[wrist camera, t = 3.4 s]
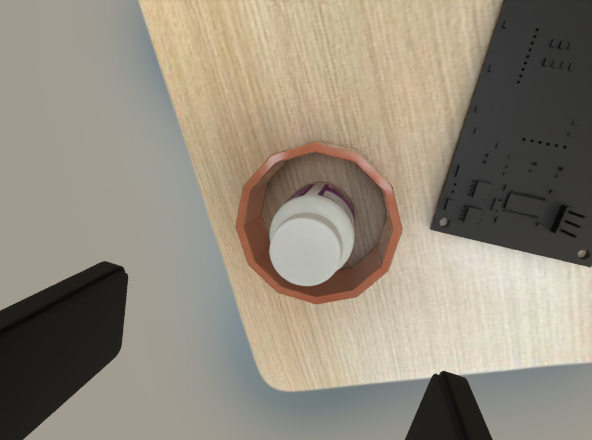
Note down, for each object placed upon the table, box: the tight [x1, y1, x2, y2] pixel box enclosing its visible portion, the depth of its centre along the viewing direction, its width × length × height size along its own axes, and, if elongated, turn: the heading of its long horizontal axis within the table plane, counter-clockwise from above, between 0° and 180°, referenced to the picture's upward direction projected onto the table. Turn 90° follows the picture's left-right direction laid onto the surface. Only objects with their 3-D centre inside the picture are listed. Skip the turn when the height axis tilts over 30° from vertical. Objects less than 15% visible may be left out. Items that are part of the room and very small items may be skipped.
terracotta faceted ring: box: [236, 141, 402, 304], centre depth 25 cm, size 11×11×4 cm
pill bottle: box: [269, 182, 355, 286], centre depth 23 cm, size 5×5×10 cm
